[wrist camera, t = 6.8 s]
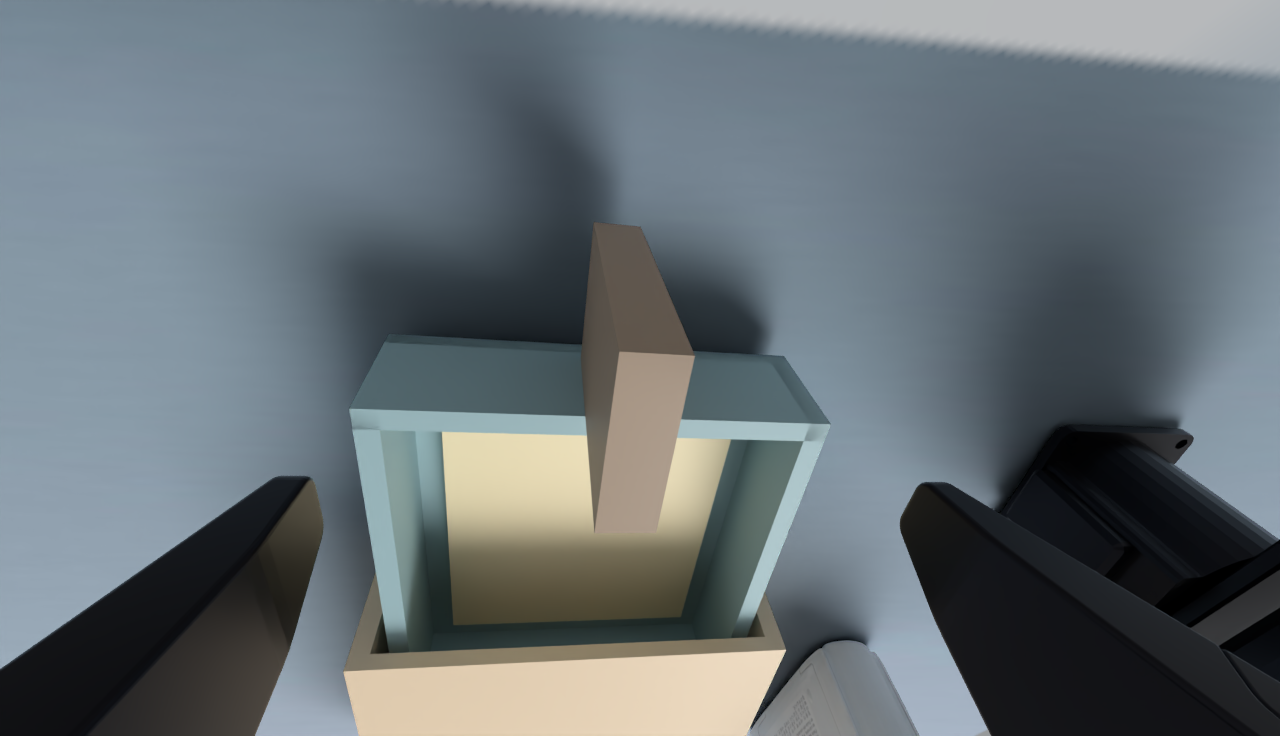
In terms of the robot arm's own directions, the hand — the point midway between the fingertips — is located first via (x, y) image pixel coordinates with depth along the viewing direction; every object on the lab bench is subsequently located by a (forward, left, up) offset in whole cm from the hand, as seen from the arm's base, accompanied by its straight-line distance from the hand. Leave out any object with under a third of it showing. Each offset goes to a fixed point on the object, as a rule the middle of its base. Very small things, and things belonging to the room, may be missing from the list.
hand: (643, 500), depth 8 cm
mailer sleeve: (0, +18, -9) cm, 20 cm away
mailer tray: (0, +7, -9) cm, 11 cm away
